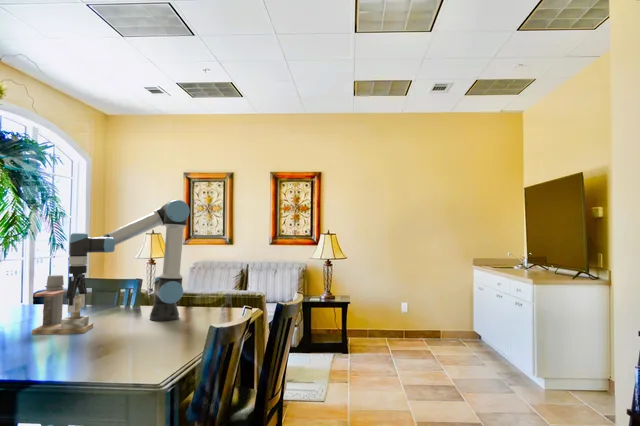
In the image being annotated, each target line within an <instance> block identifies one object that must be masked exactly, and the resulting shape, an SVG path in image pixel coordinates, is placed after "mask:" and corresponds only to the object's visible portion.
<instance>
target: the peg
mask: <svg viewBox="0 0 640 426" xmlns="http://www.w3.org/2000/svg"><path fill="white" fill-rule="evenodd" d="M74 298H75V312H73V313H70V316H71V318H70V319H80V316H81V309H82V308H81V296H78V295H75V297H74Z"/></svg>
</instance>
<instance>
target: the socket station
mask: <svg viewBox="0 0 640 426" xmlns="http://www.w3.org/2000/svg"><path fill="white" fill-rule="evenodd" d="M61 294H63V295H64V294H67V290H64V289H63V290H56V291H46V290H43V291H40V292H36V293H34V294H33V297H34V298H35V297H43V308H44V309H42V314H43V315H42V324H41V325H39V326H38V327H35V328H34V329H31V335H33V336H34V335H57V334H59V335H60V334H62V335H63V334H64V335H65V334H86V333H87V332H88V331H90V330H91V329H93V328H94V322H89V321H90V315H80V319H70V318H71V315H69V316H66V317H64V318H62V323H61V324H50V320H51V299H52V296H58V295H61Z"/></svg>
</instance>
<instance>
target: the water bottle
mask: <svg viewBox="0 0 640 426" xmlns="http://www.w3.org/2000/svg"><path fill="white" fill-rule="evenodd" d="M64 285H65V284H64V275H63V274H53V275H47V279H46V285H45V286H44V288H45V289H46V290H45V291H56V290H64ZM63 299H64V294H61V295H58V296H52V299H51V320H50V324H61V323H62V319H63V306H64V305H63V302H64V301H63ZM43 309H44V307H43ZM43 309H42V310H43Z"/></svg>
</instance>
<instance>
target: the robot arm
mask: <svg viewBox="0 0 640 426" xmlns="http://www.w3.org/2000/svg"><path fill="white" fill-rule="evenodd" d="M189 215H190V207H189V205H188V204H187V202H185V201H183V200H181V199H173V200H170V201H167V202H166V203H165V204H163V205H162V206H161V207H158V208H157V209H154V210H153V212H152V213H150V214H148V215H146V216H143V217H141V218H138V219H137V220H134V221H132V222H129V223H128V224H125V225H123V226H121V227H118V228H116V229H114V230H112V231H110V232H108V233H106V234H103V235H101V236H98V237H95V236H94V237H89V233H85V232H83V233H82V232H72V233H71V234H70V237H69V258H68V259H67V260H68V265H69V266H68V274H70V275H72V276H69V281H68V282H69V283H68V288H67V290H66V296H65V298H66V299H67V313H69V314H71V313H73V312H75V298H74V297H75V296H76V294H77V290H78V295H77V296H81V309H85V306H86V305H85V303H86V301H85V300H86V295H87V293H88V290H87V283H86V274H87V271H88V266H87V264H88V253H89V254H92V253H96V254H97V253H101V254H102V253H103V254H104V253H114V252H115V249H116V248H115V247H116V246H118V245H119V244H122V243H124V242H127V241H129V240H131V239H133V238H135V237H137V236H140V235H142V234H143V233H146V232H148V231H150V230H153V229H155V228H157V227H160V226H161V227H163V226H164V227H165V228H166V230H165V239H164V241H165V243H164V254H163V263H162V264H163V266H162V274H160V276H159V275H158V276H155V278H154V283H153V285H154V289H153V306H152V309H151V311H150V313H149V320H151V321H156V322H157V321H158V322H160V321H161V322H164V321H165V322H166V321H174V320H178V319H179V318H180V313H179V310H178V306H177V302H178V301H180V300H181V299H182V296H183V295H184V288H183V276H182V275H181V264H182V263H181V262H182V250H183V240H184V239H183V238H184V229H185V228H186V227H187V225H188V224H187V223H188V217H189Z"/></svg>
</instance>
